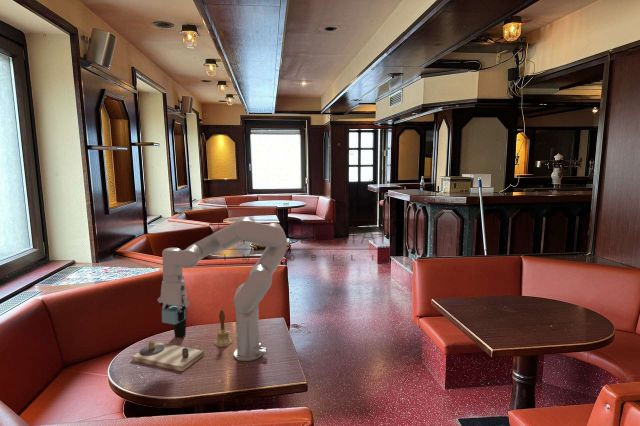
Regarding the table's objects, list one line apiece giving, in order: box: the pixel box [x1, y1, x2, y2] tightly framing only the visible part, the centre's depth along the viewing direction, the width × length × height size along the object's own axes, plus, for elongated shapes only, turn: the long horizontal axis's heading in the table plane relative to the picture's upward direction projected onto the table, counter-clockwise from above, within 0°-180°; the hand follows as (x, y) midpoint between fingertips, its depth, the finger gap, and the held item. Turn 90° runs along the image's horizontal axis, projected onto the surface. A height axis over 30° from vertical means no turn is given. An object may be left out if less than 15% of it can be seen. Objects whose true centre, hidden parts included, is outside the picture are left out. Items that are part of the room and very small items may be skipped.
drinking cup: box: [172, 306, 188, 339], centre depth 181 cm, size 8×8×20 cm
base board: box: [131, 340, 205, 372], centre depth 161 cm, size 27×14×6 cm, turn 70°
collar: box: [161, 305, 187, 325], centre depth 157 cm, size 7×7×5 cm
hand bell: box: [213, 309, 233, 348], centre depth 174 cm, size 8×8×16 cm
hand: (174, 318), depth 157 cm, fingers closed on collar, 6 cm apart
